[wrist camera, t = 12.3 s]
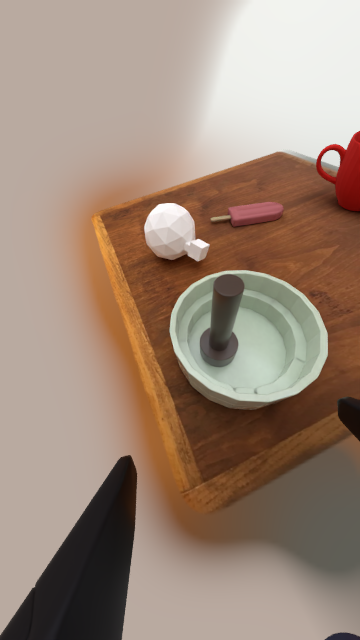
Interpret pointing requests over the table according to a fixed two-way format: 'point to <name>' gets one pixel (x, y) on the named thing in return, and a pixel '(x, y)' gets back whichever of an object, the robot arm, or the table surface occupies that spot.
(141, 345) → the table surface
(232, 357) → the pestle
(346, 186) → the ceramic cup
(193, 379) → the bowl
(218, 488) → the table surface
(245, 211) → the popsicle
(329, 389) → the table surface
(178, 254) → the perfume bottle
